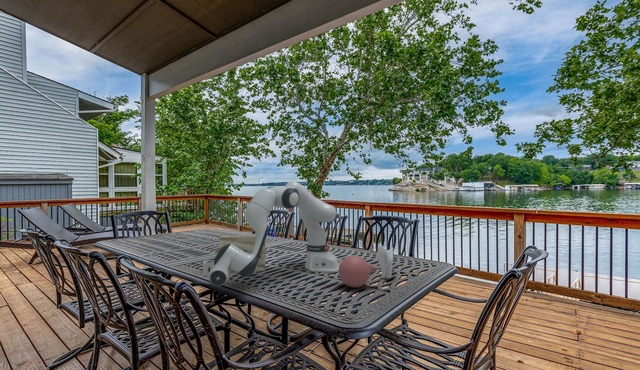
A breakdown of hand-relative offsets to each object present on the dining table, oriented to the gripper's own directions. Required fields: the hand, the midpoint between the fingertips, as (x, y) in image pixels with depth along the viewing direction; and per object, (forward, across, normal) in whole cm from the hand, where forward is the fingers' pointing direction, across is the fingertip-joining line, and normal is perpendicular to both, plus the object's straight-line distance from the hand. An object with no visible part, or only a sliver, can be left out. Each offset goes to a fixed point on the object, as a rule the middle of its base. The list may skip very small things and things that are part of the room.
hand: (225, 261), depth 159 cm
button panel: (+21, -8, +10) cm, 24 cm away
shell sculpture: (-11, -85, +10) cm, 86 cm away
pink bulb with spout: (-22, -66, +10) cm, 70 cm away
